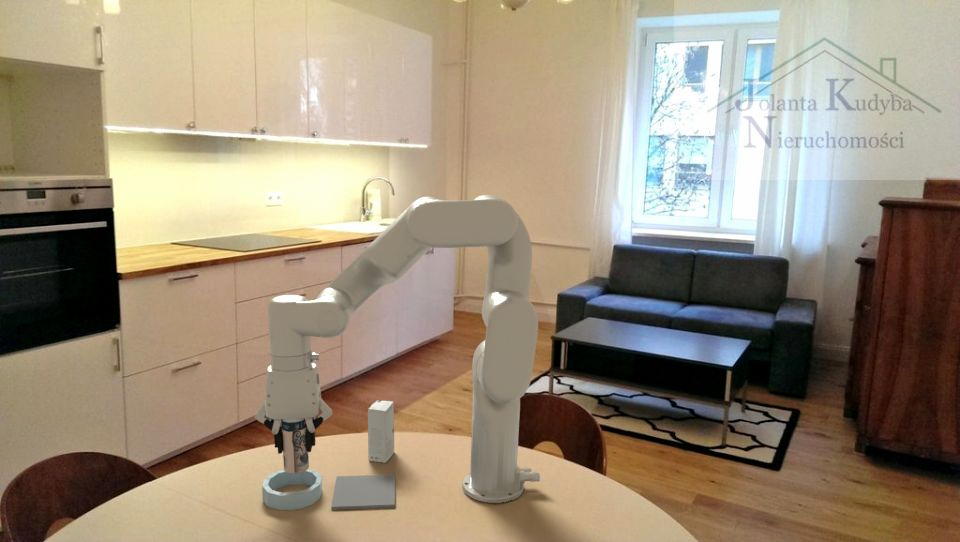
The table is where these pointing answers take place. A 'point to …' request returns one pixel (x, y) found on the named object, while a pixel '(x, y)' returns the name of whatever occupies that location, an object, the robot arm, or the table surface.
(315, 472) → the light blue ring
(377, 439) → the skincare box
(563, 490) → the table surface
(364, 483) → the mat
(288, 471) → the beer can
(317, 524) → the table surface
